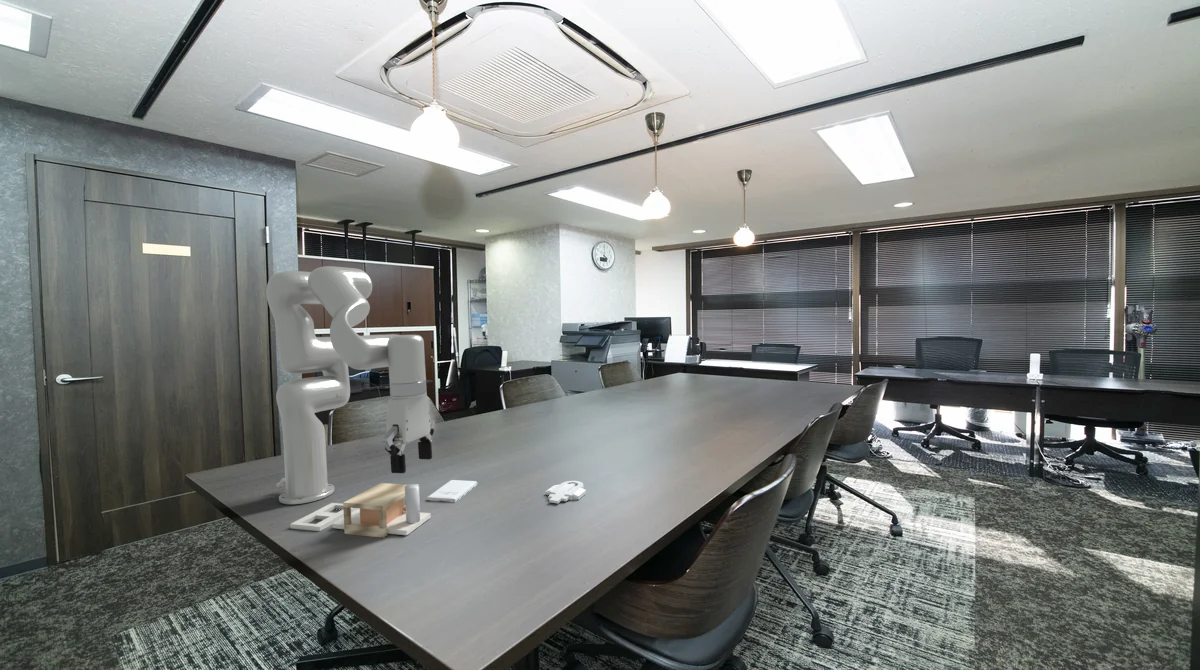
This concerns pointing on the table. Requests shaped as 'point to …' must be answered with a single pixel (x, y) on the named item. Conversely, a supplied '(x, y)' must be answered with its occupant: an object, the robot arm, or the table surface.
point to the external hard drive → (452, 490)
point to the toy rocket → (566, 491)
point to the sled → (393, 514)
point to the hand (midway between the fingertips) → (412, 465)
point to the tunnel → (373, 508)
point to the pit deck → (321, 518)
